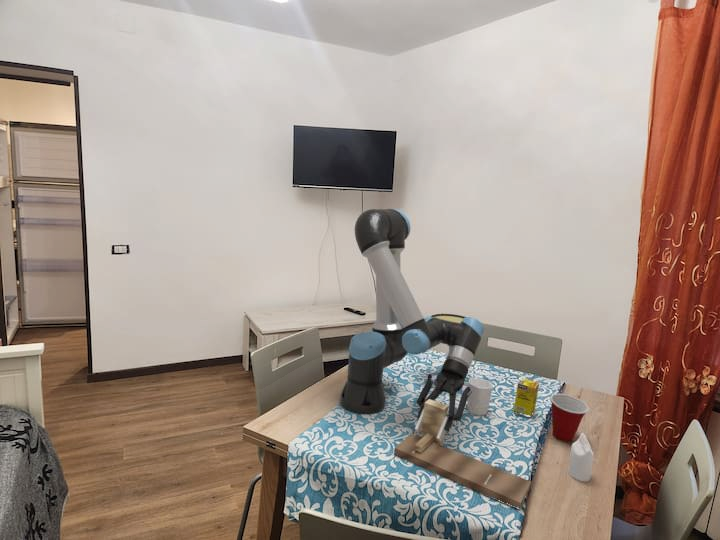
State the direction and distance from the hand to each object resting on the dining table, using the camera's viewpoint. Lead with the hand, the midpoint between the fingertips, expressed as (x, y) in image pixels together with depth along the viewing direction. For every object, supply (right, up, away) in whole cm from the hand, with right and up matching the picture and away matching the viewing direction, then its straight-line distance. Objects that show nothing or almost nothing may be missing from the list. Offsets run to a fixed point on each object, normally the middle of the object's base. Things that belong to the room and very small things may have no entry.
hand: (427, 435), depth 128 cm
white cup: (+21, -1, +26) cm, 33 cm away
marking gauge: (0, -4, 0) cm, 4 cm away
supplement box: (+37, -2, +27) cm, 46 cm away
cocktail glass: (+14, +3, +46) cm, 48 cm away
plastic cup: (+44, -6, +13) cm, 46 cm away
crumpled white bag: (+40, -9, -5) cm, 41 cm away
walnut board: (+7, -7, -8) cm, 12 cm away
